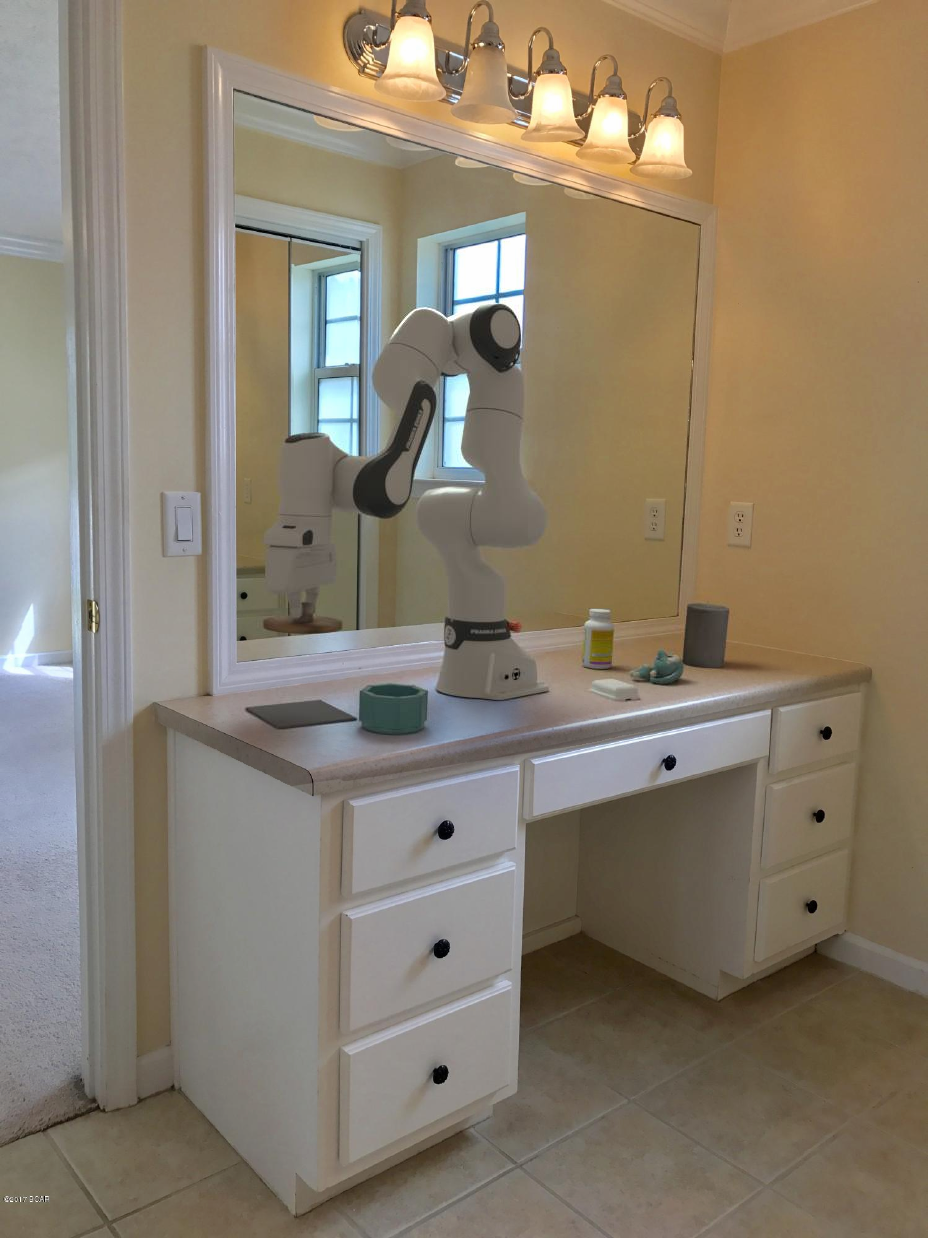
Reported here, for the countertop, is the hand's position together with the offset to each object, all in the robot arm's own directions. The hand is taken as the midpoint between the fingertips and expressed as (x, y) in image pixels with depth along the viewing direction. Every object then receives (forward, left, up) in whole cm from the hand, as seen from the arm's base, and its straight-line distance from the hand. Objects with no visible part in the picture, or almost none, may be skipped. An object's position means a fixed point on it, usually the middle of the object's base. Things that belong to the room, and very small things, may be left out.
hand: (303, 615), depth 162 cm
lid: (0, 0, -2) cm, 2 cm away
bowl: (-10, +13, -17) cm, 24 cm away
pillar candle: (-105, -6, -17) cm, 106 cm away
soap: (-62, +10, -18) cm, 65 cm away
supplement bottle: (-78, -13, -17) cm, 81 cm away
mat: (0, 0, -17) cm, 17 cm away
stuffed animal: (-81, +3, -17) cm, 83 cm away
